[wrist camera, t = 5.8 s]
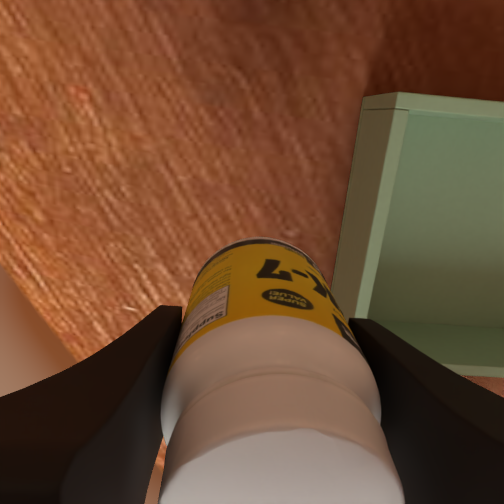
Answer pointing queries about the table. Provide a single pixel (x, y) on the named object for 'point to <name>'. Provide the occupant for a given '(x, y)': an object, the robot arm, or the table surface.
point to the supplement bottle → (271, 390)
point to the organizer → (428, 227)
